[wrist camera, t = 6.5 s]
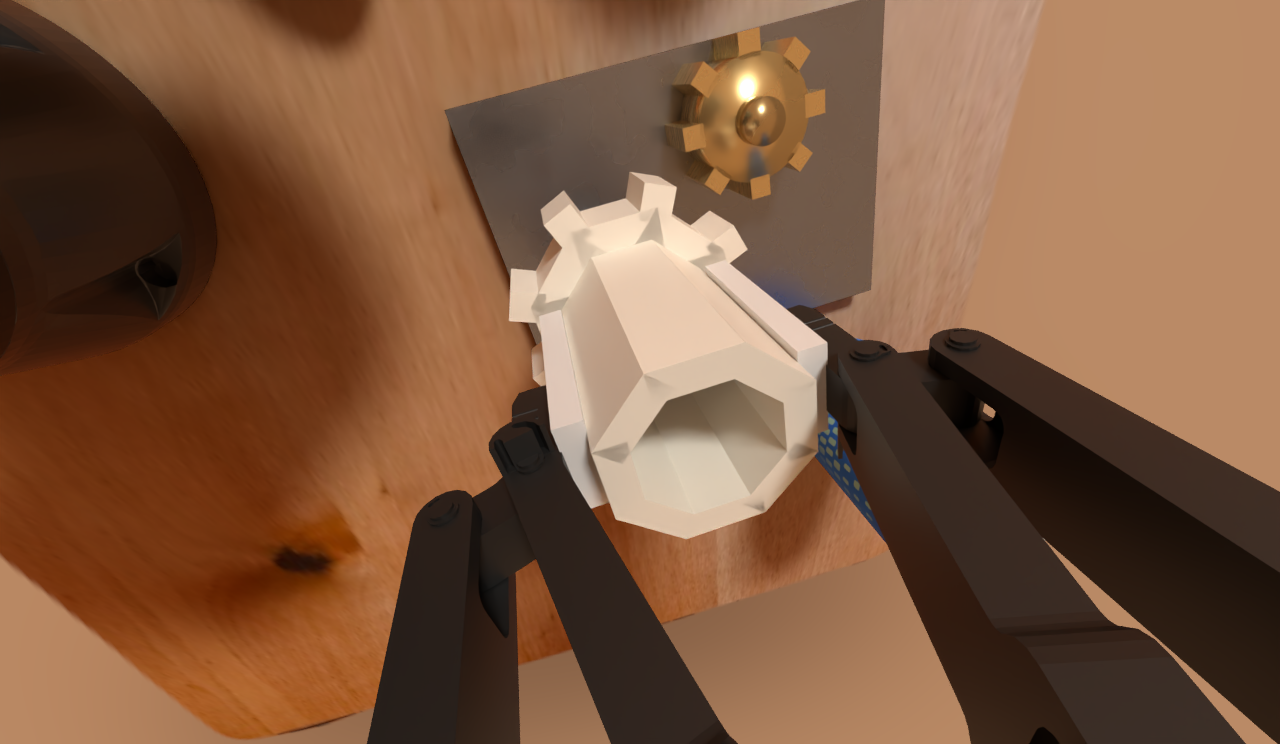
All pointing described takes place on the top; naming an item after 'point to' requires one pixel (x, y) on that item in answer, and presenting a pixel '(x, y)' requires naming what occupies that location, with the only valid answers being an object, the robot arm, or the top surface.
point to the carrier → (706, 147)
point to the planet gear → (668, 363)
